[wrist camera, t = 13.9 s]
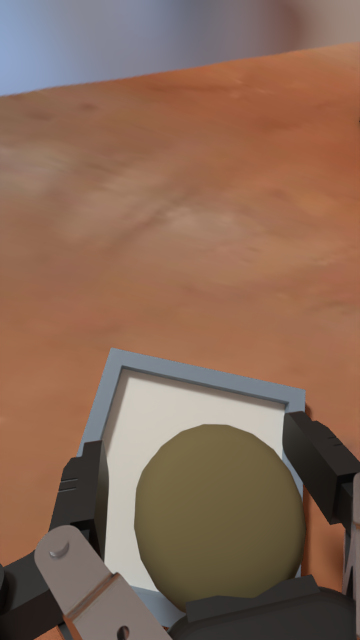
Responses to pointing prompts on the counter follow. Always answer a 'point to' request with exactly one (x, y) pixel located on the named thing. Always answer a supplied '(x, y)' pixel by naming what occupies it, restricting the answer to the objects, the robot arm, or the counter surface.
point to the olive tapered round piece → (218, 516)
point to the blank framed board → (159, 427)
